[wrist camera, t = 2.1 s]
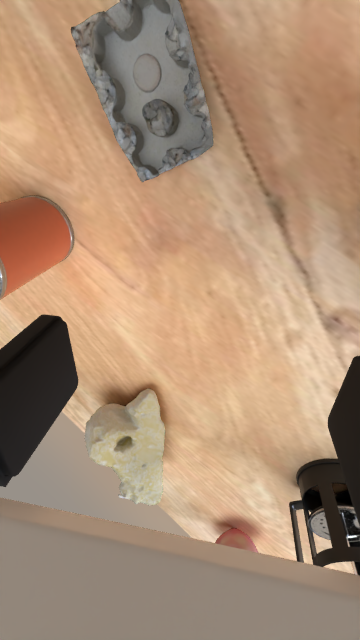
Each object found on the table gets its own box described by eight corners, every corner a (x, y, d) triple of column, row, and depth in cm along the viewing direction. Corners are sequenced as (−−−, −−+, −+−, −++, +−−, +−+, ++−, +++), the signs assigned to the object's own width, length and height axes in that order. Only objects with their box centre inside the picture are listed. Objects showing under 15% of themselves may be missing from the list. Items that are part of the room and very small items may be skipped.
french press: (357, 451, 40) (472, 745, 20) (378, 490, 43) (494, 775, 23) (275, 468, 44) (304, 719, 25) (299, 501, 48) (341, 746, 28)
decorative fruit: (239, 544, 58) (239, 612, 50) (205, 528, 57) (199, 594, 49) (269, 529, 54) (275, 601, 45) (232, 511, 52) (231, 581, 44)
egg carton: (88, 39, 22) (61, 19, 19) (178, -17, 20) (166, -52, 17) (142, 183, 27) (128, 187, 23) (221, 151, 25) (218, 151, 21)
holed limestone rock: (107, 362, 42) (51, 459, 40) (124, 379, 36) (58, 494, 34) (183, 398, 50) (139, 481, 48) (207, 417, 43) (158, 513, 41)
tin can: (67, 197, 29) (-16, 221, 19) (79, 265, 32) (13, 313, 23) (3, 193, 30) (-107, 215, 20) (21, 260, 33) (-65, 304, 24)
